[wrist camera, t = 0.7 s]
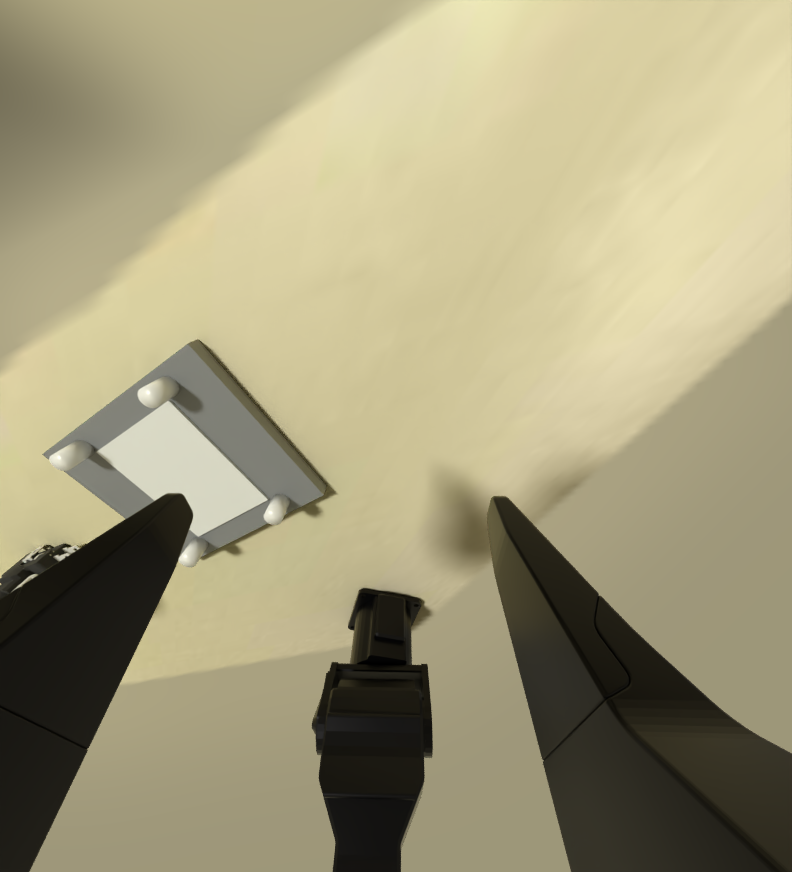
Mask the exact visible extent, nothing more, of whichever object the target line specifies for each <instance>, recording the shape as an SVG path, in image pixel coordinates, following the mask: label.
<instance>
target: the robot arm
mask: <svg viewBox="0 0 792 872" xmlns="http://www.w3.org/2000/svg"><path fill="white" fill-rule="evenodd" d="M192 520H193V511H192V509H191V507H190V505H189V503H188V501H187V500H186V498H185V496H184V495H183V494H181V493H167V494H165V495H163V496H161V497H160V498H158V499H157V500H155V501H153V502H152V503H150V504H149V505H147V506H146V507H144V508H143V509H141V510H139V511H138V512H136V513H135V514H133V515H132V516H130V517H128V518H127V519H125V520H124V521H122V522H121V523H119V524H117V525H116V526H114V527H113V528H111V529H110V530H108V531H106V532H105V533H103V534H102V535H100V536H99V537H97V538H95V539H94V540H92V541H91V542H89V543H88V544H86V545H84V546H83V547H81V548H80V549H78V550H77V551H75V552H73V553H72V554H70V555H69V556H67V557H66V558H64V559H62V560H61V561H59V562H58V563H56V564H55V565H53V566H51V567H50V568H48V569H47V570H45V571H44V572H42V573H40V574H39V575H37V576H36V577H34V578H33V579H31V580H29V581H28V582H26V583H25V584H23V586H22V587H18V588H17V589H15V590H14V591H12V592H11V593H9V594H7V595H6V596H4V597H3V598H1V599H0V872H29V871H30V869H31V867H32V865H33V863H34V861H35V859H36V857H37V855H38V853H39V850H40V848H41V846H42V844H43V842H44V840H45V838H46V836H47V834H48V832H49V830H50V828H51V826H52V824H53V821H54V819H55V817H56V815H57V813H58V811H59V809H60V807H61V805H62V803H63V801H64V799H65V797H66V794H67V792H68V790H69V788H70V786H71V784H72V782H73V780H74V778H75V776H76V774H77V772H78V769H79V768H80V765H81V763H82V761H83V759H84V757H85V755H86V753H87V751H88V750H87V748H89V746H90V744H91V742H92V740H93V738H94V736H95V734H96V732H97V729H98V728H99V725H100V723H101V721H102V719H103V717H104V715H105V713H106V711H107V709H108V707H109V704H110V702H111V701H112V698H113V696H114V694H115V692H116V690H117V688H118V686H119V684H120V682H121V680H122V678H123V676H124V674H125V672H126V669H127V667H128V665H129V663H130V661H131V659H132V657H133V655H134V653H135V651H136V649H137V647H138V645H139V642H140V640H141V638H142V636H143V634H144V632H145V630H146V628H147V626H148V624H149V622H150V620H151V618H152V616H153V613H154V611H155V609H156V607H157V605H158V603H159V601H160V599H161V597H162V595H163V593H164V591H165V589H166V586H167V584H168V582H169V580H170V578H171V576H172V574H173V572H174V569H175V567H176V565H177V562H178V559H179V557H180V554H181V551H182V548H183V546H184V543H185V540H186V537H187V534H188V532H189V529H190V526H191V523H192ZM487 525H488V532H489V539H490V546H491V554H492V561H493V568H494V573H495V577H496V582H497V586H498V590H499V594H500V597H501V602H502V605H503V609H504V613H505V617H506V621H507V625H508V628H509V632H510V636H511V640H512V644H513V648H514V652H515V656H516V659H517V663H518V667H519V671H520V675H521V679H522V682H523V686H524V690H525V694H526V698H527V702H528V706H529V709H530V714H531V718H532V721H533V725H534V729H535V733H536V736H537V741H538V745H539V748H540V752H541V756H542V759H543V760H544V761H543V765H544V768H545V772H546V776H547V780H548V783H549V788H550V792H551V795H552V799H553V803H554V807H555V811H556V815H557V819H558V823H559V826H560V830H561V834H562V838H563V842H564V846H565V850H566V854H567V857H568V861H569V865H570V869H571V872H792V753H790V752H788V751H786V750H784V749H782V748H780V747H779V746H777V745H775V744H773V743H771V742H769V741H767V740H766V739H764V738H762V737H760V736H758V735H757V734H755V733H753V732H752V731H750V730H749V729H747V728H745V727H744V726H743V725H741V724H740V723H739V722H737V721H736V720H734V719H733V718H732V717H730V716H729V715H728V714H727V713H725V712H724V711H723V710H721V709H720V708H719V707H718V706H717V705H716V704H715V703H713V702H712V701H711V700H710V699H709V698H708V697H707V696H706V695H704V694H703V693H702V692H701V691H700V690H699V689H698V688H696V686H695V685H693V684H692V683H691V682H690V681H689V680H688V679H687V678H686V677H685V676H683V675H682V674H681V673H680V672H679V671H678V670H677V669H676V668H675V667H674V666H672V665H671V664H670V663H669V662H668V661H667V660H666V659H665V658H663V657H662V656H661V655H660V654H659V653H658V652H657V651H656V650H655V649H654V648H653V647H652V646H651V645H649V643H647V642H646V641H645V640H644V639H643V638H642V637H641V636H640V635H639V634H638V633H637V632H636V631H635V630H634V629H632V627H630V625H629V624H628V623H627V622H626V621H625V620H624V619H623V618H622V617H621V616H620V615H619V614H618V613H617V612H616V611H615V610H614V609H613V608H612V607H611V606H610V605H609V604H608V603H607V602H606V601H605V600H604V599H603V598H602V597H601V596H598V595H599V594H598V592H597V591H596V590H595V589H594V588H593V587H592V586H591V585H590V584H589V583H588V582H587V581H586V580H585V579H584V578H583V577H582V575H580V574H579V572H578V571H577V570H576V569H575V568H574V567H573V566H572V565H571V564H570V563H569V562H568V561H567V560H566V559H565V558H564V557H563V555H562V554H561V553H560V552H559V551H558V550H557V549H556V548H555V547H554V546H553V545H552V544H551V543H550V542H549V541H548V540H547V538H546V537H544V536H543V534H542V533H541V532H540V531H539V530H538V529H537V528H536V527H535V526H534V525H533V524H532V523H531V522H530V521H529V519H528V518H527V517H526V516H525V515H524V514H523V513H522V512H521V511H520V510H519V509H518V508H517V507H516V506H515V505H514V504H513V503H512V501H511V500H510V499H509V498H507V497H505V496H493V497H492V498H491V501H490V506H489V510H488V514H487ZM420 607H421V601H420V600H419V599H416V598H410V597H405V596H399V595H394V594H389V593H383V592H378V591H372V590H367V589H361V590H359V592H358V595H357V598H356V601H355V605H354V608H353V611H352V614H351V617H350V620H349V624H348V628H349V629H350V630H354V636H353V644H352V652H351V660H350V664H339V663H338V662H332V664H331V668H330V671H328V673H326V679H325V684H324V689H323V693H322V697H321V699H320V702H319V705H318V707H317V710H316V713H315V715H314V718H313V722H312V729H313V731H314V733H315V734H316V751H317V754H318V755H321V762H320V770H319V782H320V786H321V789H322V793H323V796H324V800H325V804H326V808H327V811H328V815H329V819H330V823H331V826H332V829H333V834H334V837H335V843H336V844H335V855H334V865H333V872H401V848H402V845H403V843H404V840H405V838H406V835H407V832H408V829H409V827H410V824H411V822H412V819H413V816H414V814H415V811H416V808H417V806H418V803H419V801H420V798H421V795H422V790H423V784H424V757H425V758H432V749H433V746H432V745H433V744H432V742H433V741H432V714H431V702H430V690H429V678H428V666H427V664H421V665H412V657H411V626H412V624H413V622H414V620H415V618H416V616H417V614H418V611H419V609H420Z"/></svg>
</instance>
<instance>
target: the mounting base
mask: <svg viewBox="0 0 792 872" xmlns="http://www.w3.org/2000/svg"><path fill="white" fill-rule="evenodd" d="M42 455H44V456H45V457H46V458H47V459H49V460H50V463H51V464H52V465H53V466H54V467H55V468H57V469H58V470H61V471H64V472H66V473H67V474H68V475H70V476H71V477H72V478H73V479H75V480H76V481H77V482H79V483H80V484H81V485H83V486H84V487H85V488H86V489H88V490H89V491H90V492H92V493H93V494H94V495H96V496H97V497H98V498H99V499H101V500H102V501H103V502H105V503H106V504H107V505H109V506H110V507H111V508H112V509H114V510H115V511H116V512H118V513H119V514H120V515H122V516H123V517H124V518H125V519H127V518H128V517H130V516H132V515H133V514H135V513H136V512H138V511H139V510H141V509H143V508H144V507H146V506H147V505H149V504H150V503H152V502H153V501H155V500H157V499H158V498H160V497H161V496H163V495H165V494H167V493H181V494H183V495H184V496H185V498H186V500H187V501H188V503H189V505H190V507H191V509H192V511H193V520H192V523H191V526H190V529H189V532H188V534H187V537H186V540H185V543H184V546H183V548H182V551H181V554H180V557H179V562H180V563H181V564H182V565H183V566H186V567H194V566H195V565H196V564H197V562H198V561H199V559H200V557H202V556H204V555H206V554H208V553H210V552H212V551H214V550H216V549H218V548H220V547H222V546H224V545H226V544H228V543H230V542H232V541H234V540H236V539H238V538H240V537H242V536H244V535H246V534H248V533H250V532H252V531H254V530H256V529H258V528H260V527H262V526H264V525H266V524H268V523H269V524H272V525H278V524H280V523H281V522H282V520H283V518H284V515H285V514H287V513H289V512H291V511H293V510H295V509H297V508H299V507H301V506H303V505H305V504H307V503H309V502H311V501H313V500H315V499H317V498H319V497H321V496H323V495H324V493H325V490H326V485H325V483H324V482H323V481H322V480H321V479H320V478H319V477H318V475H317V474H316V473H315V472H314V471H313V470H312V469H311V467H310V466H309V465H308V464H307V463H306V462H305V461H304V459H303V458H302V457H301V456H300V455H299V454H298V453H297V452H296V450H295V449H294V448H293V447H292V446H291V445H290V444H289V442H288V441H287V440H286V439H285V438H284V437H283V436H282V434H281V433H280V432H279V431H278V430H277V429H276V428H275V426H274V425H273V424H272V423H271V422H270V421H269V420H268V419H267V417H266V416H265V415H264V414H263V413H262V412H261V411H260V409H259V408H258V407H257V406H256V405H255V404H254V403H253V401H252V400H251V399H250V398H249V397H248V396H247V395H246V394H245V392H244V391H243V390H242V389H241V388H240V387H239V386H238V384H237V383H236V382H235V381H234V380H233V379H232V378H231V376H230V375H229V374H228V373H227V372H226V371H225V370H224V368H223V367H222V366H221V365H220V364H219V363H218V362H217V361H216V359H215V358H214V357H213V356H212V355H211V354H210V353H209V351H208V350H207V349H206V348H205V347H204V346H203V345H202V343H201V342H200V341H199V340H198V339H197V340H195V341H193V342H191V343H188V344H187V345H186V346H184V347H183V348H182V349H180V350H179V351H178V352H176V353H175V354H174V355H172V356H171V357H170V358H168V359H167V360H166V361H164V362H163V363H162V364H161V365H159V366H158V367H157V368H155V369H154V370H153V371H151V372H150V373H149V374H147V375H146V376H145V377H143V378H142V379H141V380H139V381H138V382H137V383H136V384H134V385H133V386H132V387H130V388H129V389H128V390H126V391H125V392H124V393H122V394H121V395H120V396H118V397H117V398H116V399H114V400H113V401H112V402H111V403H109V404H108V405H107V406H105V407H104V408H103V409H101V410H100V411H99V412H97V413H96V414H95V415H93V416H92V417H91V418H89V419H88V420H87V421H85V422H84V423H83V424H82V425H80V426H79V427H78V428H76V429H75V430H74V431H72V432H71V433H70V434H68V435H67V436H66V437H64V438H63V439H62V440H60V441H59V442H58V443H57V444H55V445H54V446H53V447H51V448H50V449H49V450H47V451H46V452H45V453H43V454H42Z"/></svg>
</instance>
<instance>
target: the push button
mask: <svg viewBox="0 0 792 872" xmlns="http://www.w3.org/2000/svg"><path fill="white" fill-rule="evenodd" d="M43 547H44V545H43V546H41V547H38V548H37V549H35V550H34V551H33V552H31V553H29V554H27V555H26V556H25V557H23V558H22V559H21V560H20V561H19V562H17V563H16V564H15V565H14V566H12V567H11V568H10V569H9V570H8V571H6V572H5V573H4V574H3V575H2V578H1V579H0V583H1V585H0V599H1V598H3V597H4V596H6V595H7V594H9V593H11V592H12V591H14V590H15V589H17V588H18V587H22V586H23V584H25V583H26V582H28V581H29V580H31V579H33V578H34V577H36V576H37V575H39V574H40V573H42V572H44V571H45V570H47V569H48V568H50V567H51V566H53V565H55V564H56V563H58V562H59V561H61V560H62V559H64V558H66V557H67V556H69V555H70V554H72V553H73V552H75V551H76V550H74V548H76V549H77V550H78V549H80V547H79V546H77V545H75V546H72V547H70V548H69V547H67V546H66V545H65V544H61V545H59V546H56V547H54V548H51V549H49V550H46V551H43V552H41V553H38V554H36V553H37V552H38V551H39V550H41V549H42V548H43Z"/></svg>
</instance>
